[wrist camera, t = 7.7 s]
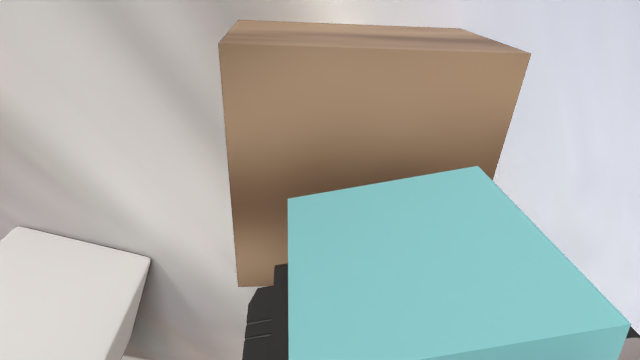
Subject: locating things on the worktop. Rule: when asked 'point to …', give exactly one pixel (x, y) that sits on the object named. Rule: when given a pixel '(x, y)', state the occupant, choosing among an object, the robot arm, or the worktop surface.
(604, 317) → the teal cube
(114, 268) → the milk carton
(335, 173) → the walnut base block
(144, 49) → the worktop surface
